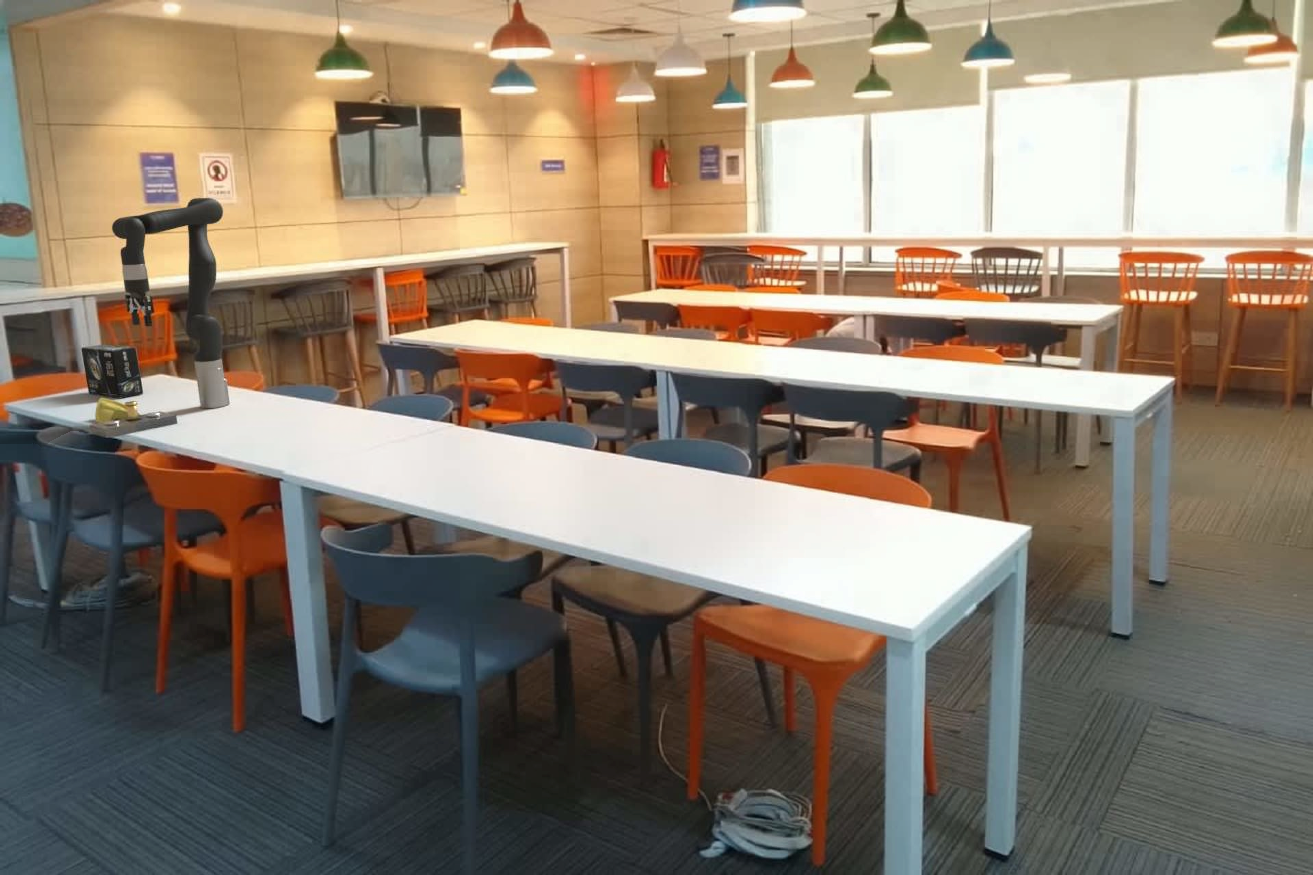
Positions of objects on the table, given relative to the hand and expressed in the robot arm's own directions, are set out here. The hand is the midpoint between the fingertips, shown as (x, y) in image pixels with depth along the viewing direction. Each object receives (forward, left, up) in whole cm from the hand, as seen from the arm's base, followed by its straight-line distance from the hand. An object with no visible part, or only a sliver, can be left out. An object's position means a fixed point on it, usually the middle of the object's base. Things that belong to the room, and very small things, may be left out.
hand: (142, 325), depth 359 cm
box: (-16, -62, -33) cm, 72 cm away
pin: (+11, +7, -33) cm, 36 cm away
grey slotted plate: (+11, +7, -33) cm, 36 cm away
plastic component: (+8, -11, -34) cm, 36 cm away
